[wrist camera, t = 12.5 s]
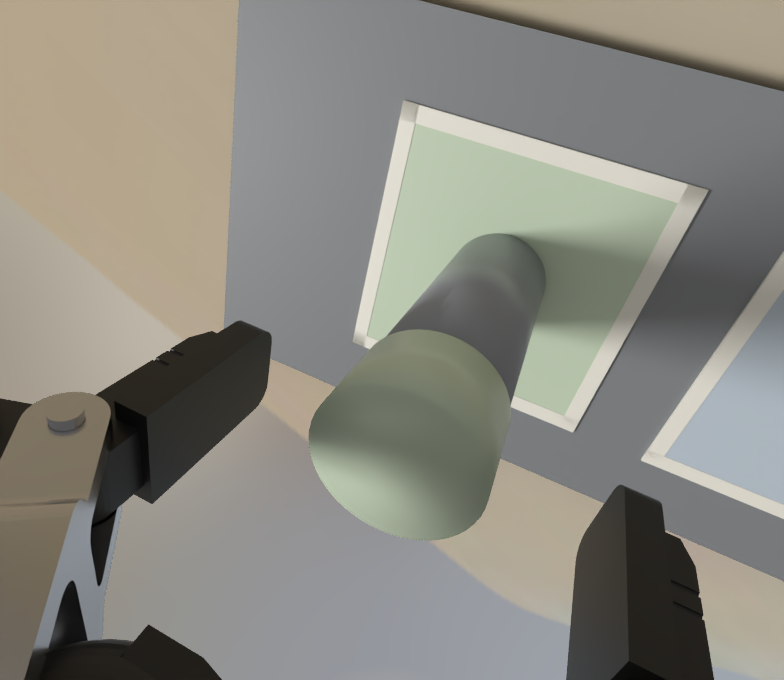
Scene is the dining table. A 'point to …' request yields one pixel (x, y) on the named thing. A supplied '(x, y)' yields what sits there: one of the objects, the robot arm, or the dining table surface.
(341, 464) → the marker
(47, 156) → the dining table surface
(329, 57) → the picture board
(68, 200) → the dining table surface
